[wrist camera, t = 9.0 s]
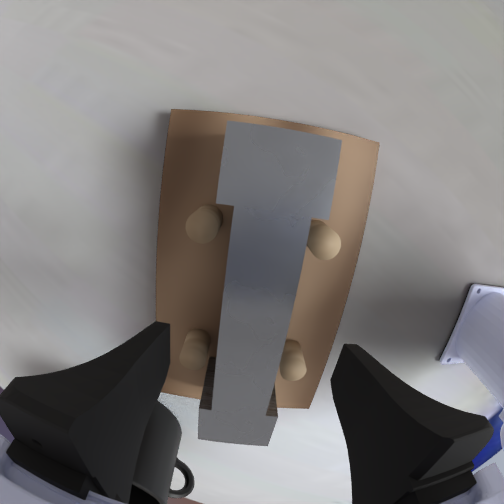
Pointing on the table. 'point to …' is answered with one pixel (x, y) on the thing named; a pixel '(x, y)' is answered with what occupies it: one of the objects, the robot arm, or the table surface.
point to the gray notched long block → (262, 269)
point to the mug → (159, 461)
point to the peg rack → (217, 245)
